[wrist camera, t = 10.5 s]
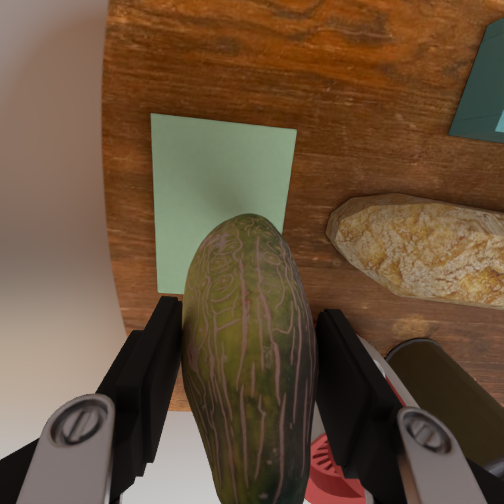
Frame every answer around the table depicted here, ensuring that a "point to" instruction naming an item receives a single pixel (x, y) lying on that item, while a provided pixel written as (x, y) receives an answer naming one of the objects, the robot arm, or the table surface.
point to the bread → (424, 247)
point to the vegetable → (250, 362)
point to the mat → (212, 184)
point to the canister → (453, 400)
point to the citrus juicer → (322, 462)
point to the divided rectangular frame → (484, 91)
